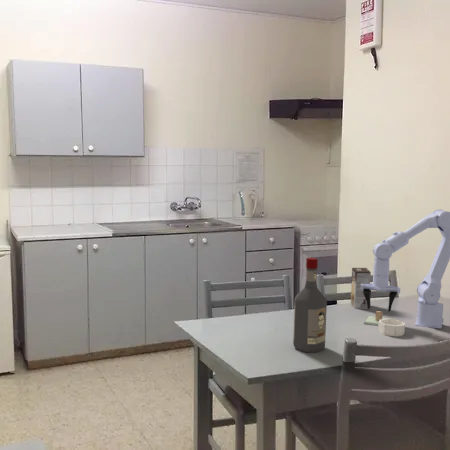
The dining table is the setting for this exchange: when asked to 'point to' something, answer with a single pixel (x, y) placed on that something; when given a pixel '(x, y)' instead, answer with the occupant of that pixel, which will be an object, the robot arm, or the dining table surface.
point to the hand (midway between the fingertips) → (379, 309)
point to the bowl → (391, 327)
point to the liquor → (310, 313)
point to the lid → (375, 318)
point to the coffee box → (359, 287)
